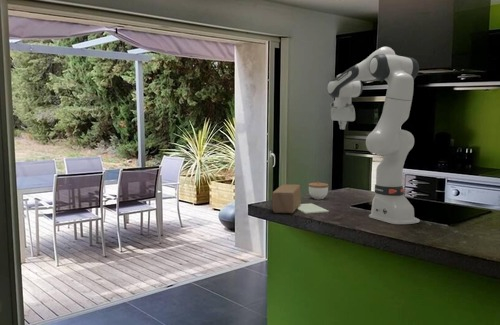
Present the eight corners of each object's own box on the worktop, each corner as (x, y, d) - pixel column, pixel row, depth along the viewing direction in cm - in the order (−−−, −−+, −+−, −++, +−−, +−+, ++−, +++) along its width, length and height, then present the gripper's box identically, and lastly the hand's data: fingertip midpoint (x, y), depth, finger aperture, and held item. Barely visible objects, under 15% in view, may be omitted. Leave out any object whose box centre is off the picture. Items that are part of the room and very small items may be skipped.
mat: (328, 211, 214) (328, 210, 213) (305, 213, 210) (305, 212, 210) (311, 204, 230) (311, 203, 230) (289, 206, 227) (289, 204, 227)
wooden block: (282, 203, 230) (272, 213, 211) (281, 184, 229) (271, 192, 210) (301, 203, 227) (293, 213, 208) (300, 184, 226) (292, 192, 207)
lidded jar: (332, 198, 247) (332, 181, 246) (319, 201, 240) (320, 183, 239) (316, 195, 255) (317, 179, 254) (304, 198, 248) (304, 181, 246)
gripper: (358, 103, 239) (357, 130, 241) (338, 104, 259) (338, 128, 260) (348, 103, 237) (347, 130, 239) (329, 104, 257) (328, 128, 258)
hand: (342, 129), depth 250 cm, fingers closed
